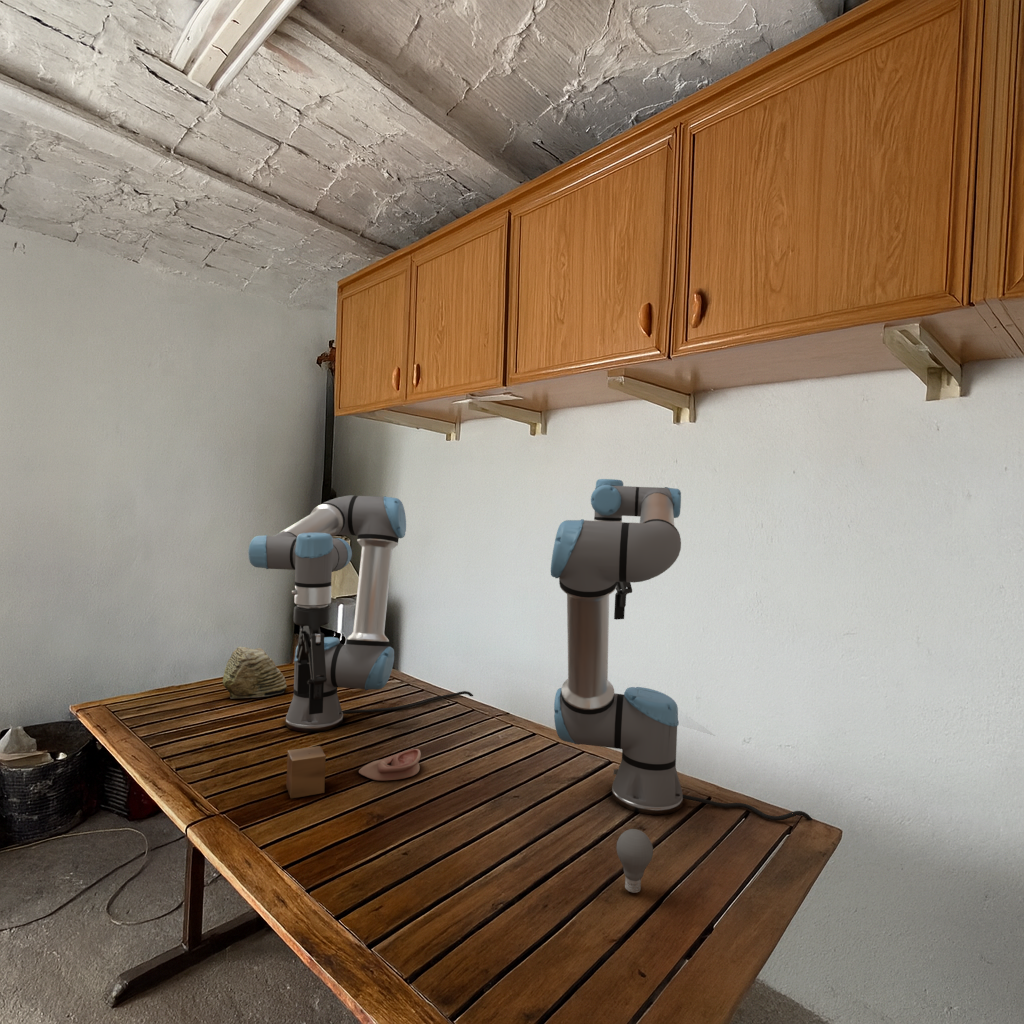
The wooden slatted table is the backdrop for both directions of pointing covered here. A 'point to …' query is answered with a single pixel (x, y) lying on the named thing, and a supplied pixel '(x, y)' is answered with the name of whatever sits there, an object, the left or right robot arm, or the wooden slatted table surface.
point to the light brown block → (305, 772)
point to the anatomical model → (393, 766)
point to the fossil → (252, 674)
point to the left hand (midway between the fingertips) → (309, 702)
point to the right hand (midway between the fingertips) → (603, 614)
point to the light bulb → (634, 857)
